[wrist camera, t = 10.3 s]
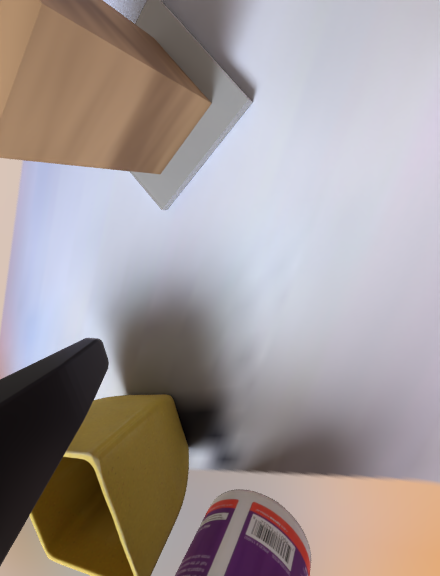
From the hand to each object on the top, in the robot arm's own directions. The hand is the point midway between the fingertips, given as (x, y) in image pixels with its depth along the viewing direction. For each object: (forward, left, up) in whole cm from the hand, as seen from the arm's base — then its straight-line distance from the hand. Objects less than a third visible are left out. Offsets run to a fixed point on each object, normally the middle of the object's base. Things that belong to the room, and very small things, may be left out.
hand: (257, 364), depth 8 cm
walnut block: (+12, -5, -10) cm, 17 cm away
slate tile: (+12, -5, -11) cm, 17 cm away
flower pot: (+6, +17, -11) cm, 21 cm away
